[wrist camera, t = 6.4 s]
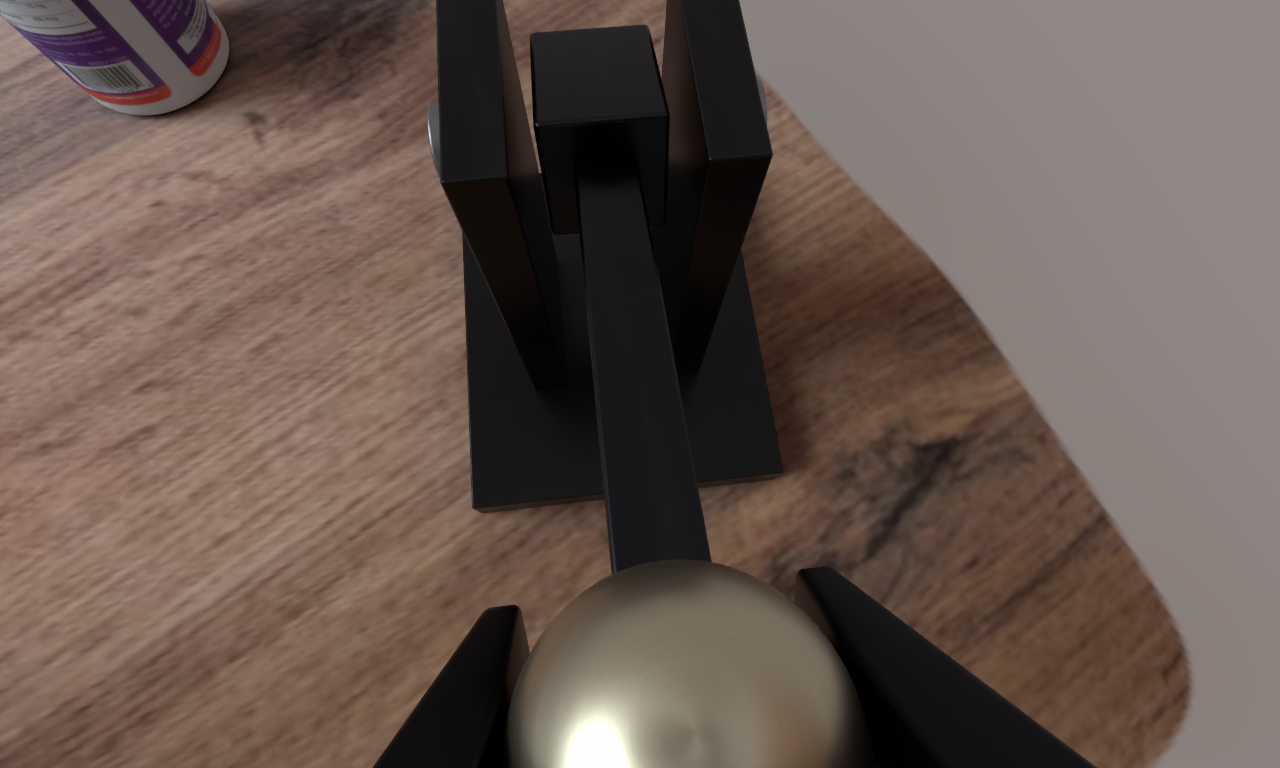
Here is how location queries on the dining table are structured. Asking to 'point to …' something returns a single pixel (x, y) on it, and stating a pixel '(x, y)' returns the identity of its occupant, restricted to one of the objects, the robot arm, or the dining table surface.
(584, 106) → the lever
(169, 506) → the dining table surface
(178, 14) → the pill bottle
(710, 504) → the dining table surface
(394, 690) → the dining table surface
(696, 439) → the bracket
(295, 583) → the dining table surface
